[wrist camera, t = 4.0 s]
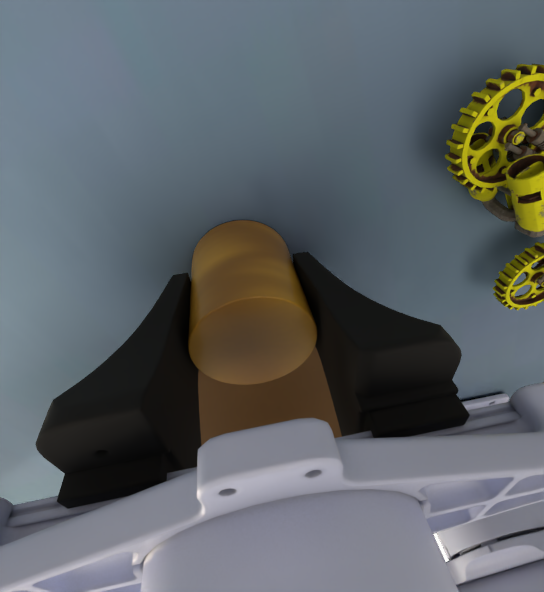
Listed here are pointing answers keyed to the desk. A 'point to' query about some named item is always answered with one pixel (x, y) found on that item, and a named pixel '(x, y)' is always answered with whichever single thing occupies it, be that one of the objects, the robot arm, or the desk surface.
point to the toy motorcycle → (507, 172)
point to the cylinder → (247, 306)
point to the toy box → (266, 401)
